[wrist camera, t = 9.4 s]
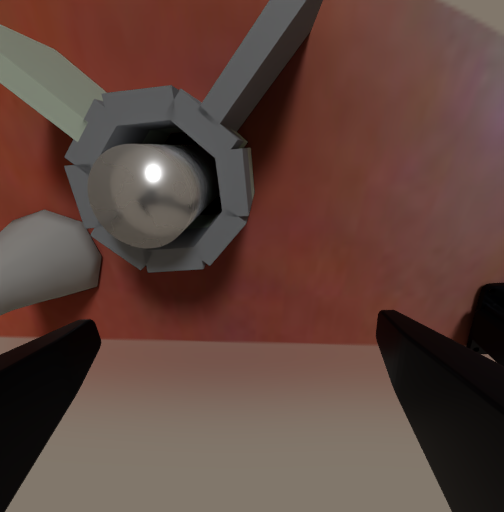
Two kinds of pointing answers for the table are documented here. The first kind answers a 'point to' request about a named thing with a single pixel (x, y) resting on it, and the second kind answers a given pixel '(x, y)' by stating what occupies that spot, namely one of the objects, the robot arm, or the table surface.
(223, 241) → the grey hollow faceted fixture
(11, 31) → the pale green bracket
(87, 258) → the flask
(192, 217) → the pin
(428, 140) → the table surface
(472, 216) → the table surface
